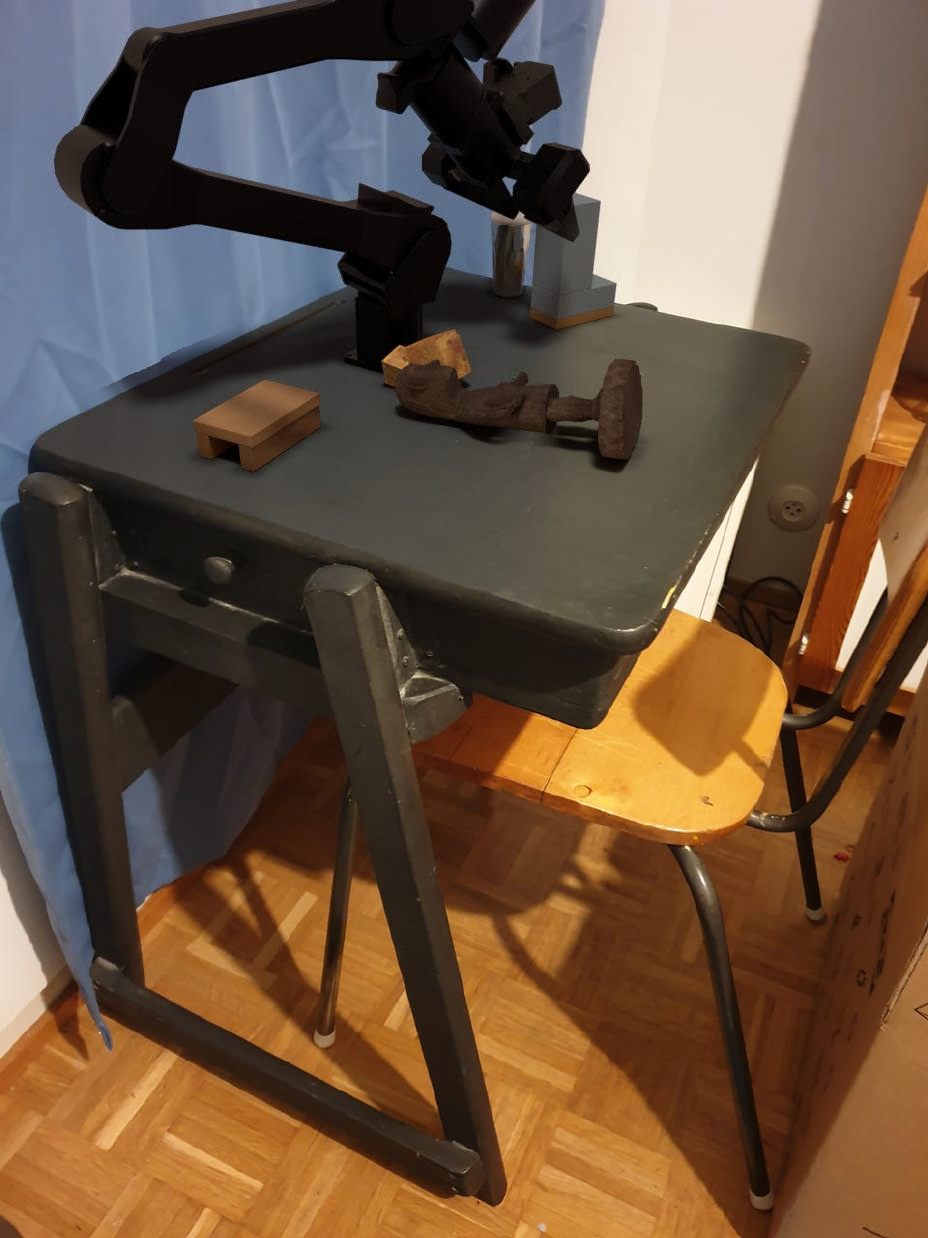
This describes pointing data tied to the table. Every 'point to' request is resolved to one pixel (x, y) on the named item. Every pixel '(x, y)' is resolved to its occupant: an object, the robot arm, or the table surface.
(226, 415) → the wooden footstool
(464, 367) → the pyrite
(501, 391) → the figurine
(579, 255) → the grey stepped block
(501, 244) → the milkshake
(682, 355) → the table surface
